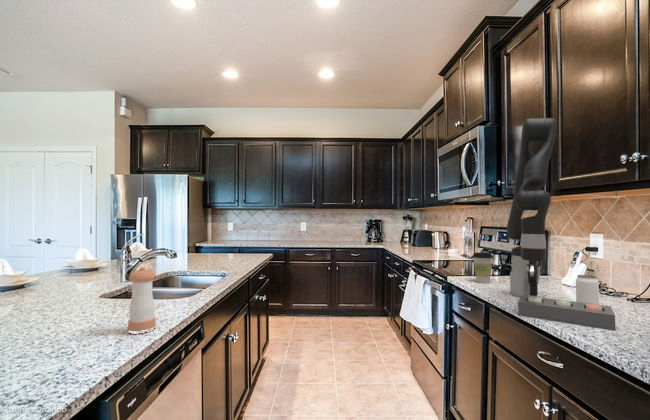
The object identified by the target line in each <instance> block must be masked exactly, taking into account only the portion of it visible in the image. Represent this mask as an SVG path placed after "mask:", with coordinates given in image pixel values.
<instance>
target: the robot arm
mask: <svg viewBox="0 0 650 420" xmlns="http://www.w3.org/2000/svg"><path fill="white" fill-rule="evenodd" d="M557 124H558V123H557V120H556V119H555V118H551V117H540V118H539V117H537V118H535V117H533V118H526V119H525V120H524V121H523V124H522V129H521V136H520V137H521V139H520V148H519V149H520V151H519V159H518V165H517V170H516V175H515V176H516V177H515V181H514V182H515V183H514V190H513V197H512V198H513V199H512V203H511V208H510V211H509V212H510V213H509V216H508V220H507V225H506V234H507V238H509V239H510V240H514V241H520V245H519V246H515V247H512V249H511V271H510V272H509V284H510V285H509V286H510V287H509V288H510V289H509V292H510V294H512V295H514V296H516V297H520V298H521V296H522V295H525V296H533V297H538V294H539V292H538V291H539V290H538V289H539V288H538V285H539V282H540V281H539V280H540V277H541V274H540V273H541V271H540V270H541V265H540V264H539V262H545V261H546V260H547V241H546V239H547V238H546V219H547V213H548V211H549V209H550V205H551V202H552V198H551V197H552V196H551V195H550V193H549V191H547V190H541V189H542V188H544V187H546V184H547V179H548V178H547V177H548V171H549V170H548V169H549V163H550V159H551V156H552V153H553V148H554V143H555V139H556V135H557V134H556V133H557V129H558V128H557V127H558V125H557ZM531 143H543V145H542V147H541V148H540V149H539V150H538V151H537V152H536V153H535V154H534V155H533V154H532V151H531V147H530V144H531ZM525 211H537V213H536V214H535V215H532V216H527V217H526V216H525V217H523V214H524V212H525ZM522 217H523V218H522Z"/></svg>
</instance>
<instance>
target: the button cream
mask: <svg viewBox="0 0 650 420" xmlns="http://www.w3.org/2000/svg"><path fill="white" fill-rule="evenodd" d="M539 297H540V296H537V297H532V296H531V297H528V301H532V302H539V303H542V298H543V297H541V298H539Z"/></svg>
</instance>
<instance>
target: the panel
mask: <svg viewBox="0 0 650 420" xmlns="http://www.w3.org/2000/svg"><path fill="white" fill-rule="evenodd" d="M528 297H531V296H525V295H522V296H521V297H520V298H519V300H518V301H517V304H518V305H517V307H518V308H517V312H518V316H522V317H523V316H525V317H530V318H537V319H542V320H547V319H548V321H553V320H554V321H555V322H561V323H567V324H574V325H578V324H579V325H580V326H585V327H592V328H599V329H604V330H610V331H616V314H615V312H614V311H613V308H612V306H610V305H603V304H599V305H600V306H602V311H599V310H591V309H586V304H589V303H581V302H576V301H571V300H568V301H569V302H571V307H569V306H562V305H556V300H558V299H555V298H550V297H541V296H538V297H539V298H542V303H539V302H532V301H528ZM532 297H533V296H532ZM596 305H597V304H596Z"/></svg>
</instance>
